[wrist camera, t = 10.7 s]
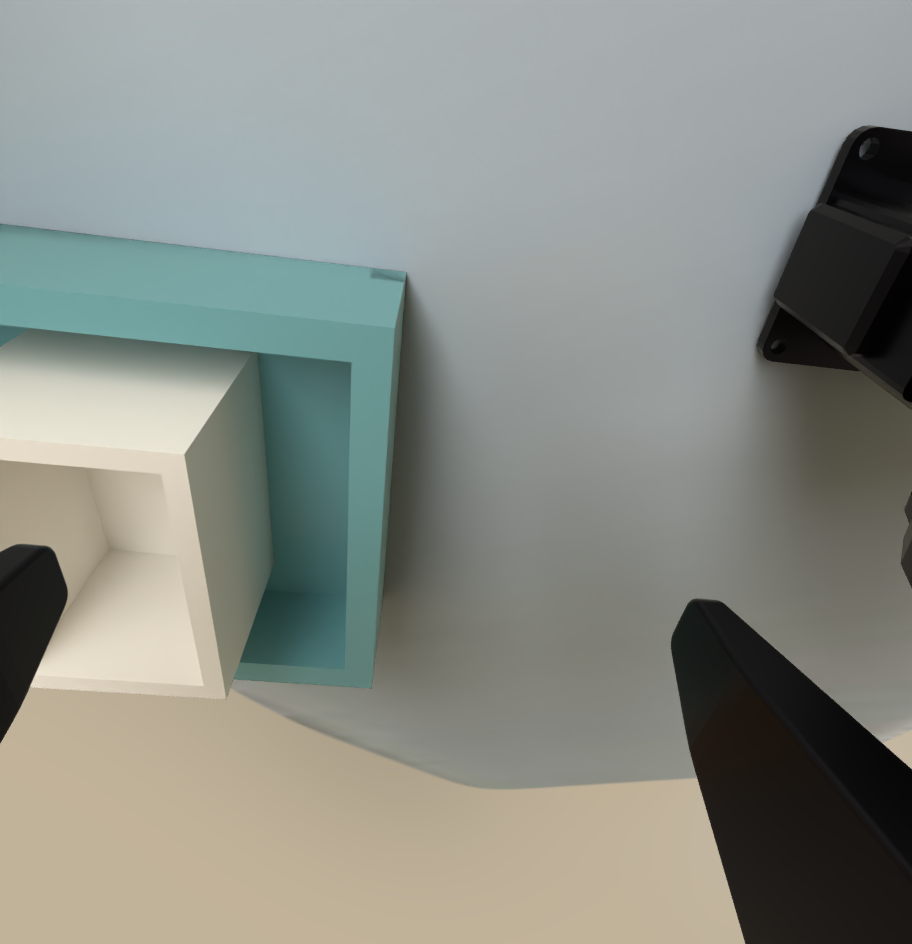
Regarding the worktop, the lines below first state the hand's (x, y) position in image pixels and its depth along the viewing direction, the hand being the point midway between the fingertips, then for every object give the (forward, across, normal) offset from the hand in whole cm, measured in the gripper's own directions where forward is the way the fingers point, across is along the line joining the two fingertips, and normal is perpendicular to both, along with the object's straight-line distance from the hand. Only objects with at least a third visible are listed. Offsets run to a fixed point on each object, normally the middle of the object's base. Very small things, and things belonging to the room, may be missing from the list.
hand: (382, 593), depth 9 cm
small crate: (+11, +8, +6) cm, 15 cm away
